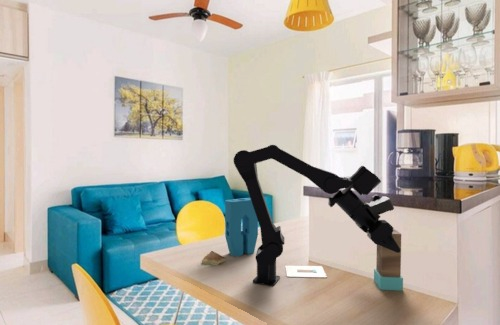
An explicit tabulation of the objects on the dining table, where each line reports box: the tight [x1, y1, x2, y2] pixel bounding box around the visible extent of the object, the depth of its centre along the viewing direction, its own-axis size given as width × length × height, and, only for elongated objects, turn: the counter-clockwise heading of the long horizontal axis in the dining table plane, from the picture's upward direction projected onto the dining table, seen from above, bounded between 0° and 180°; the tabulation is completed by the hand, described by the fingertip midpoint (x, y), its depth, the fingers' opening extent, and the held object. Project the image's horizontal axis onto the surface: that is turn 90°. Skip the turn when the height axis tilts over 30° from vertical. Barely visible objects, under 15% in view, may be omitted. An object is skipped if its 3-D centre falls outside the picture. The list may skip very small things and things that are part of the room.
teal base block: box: [373, 268, 404, 292], centre depth 91 cm, size 6×6×4 cm
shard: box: [201, 250, 227, 266], centre depth 113 cm, size 11×8×2 cm
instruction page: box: [284, 265, 328, 279], centre depth 101 cm, size 9×12×1 cm
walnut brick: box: [375, 229, 402, 277], centre depth 90 cm, size 5×5×12 cm
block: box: [224, 197, 259, 257], centre depth 119 cm, size 12×5×20 cm, turn 122°
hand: (393, 246), depth 90 cm, fingers open, 9 cm apart
